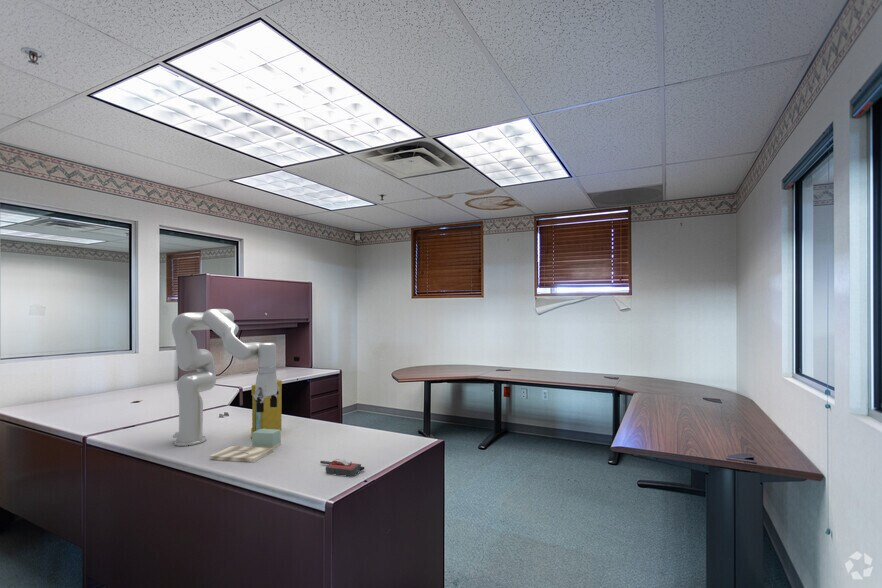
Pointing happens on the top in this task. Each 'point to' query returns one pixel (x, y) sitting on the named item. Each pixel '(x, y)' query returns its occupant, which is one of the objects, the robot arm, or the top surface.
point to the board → (241, 453)
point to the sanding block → (266, 438)
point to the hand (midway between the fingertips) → (267, 409)
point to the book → (267, 412)
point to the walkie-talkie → (342, 467)
